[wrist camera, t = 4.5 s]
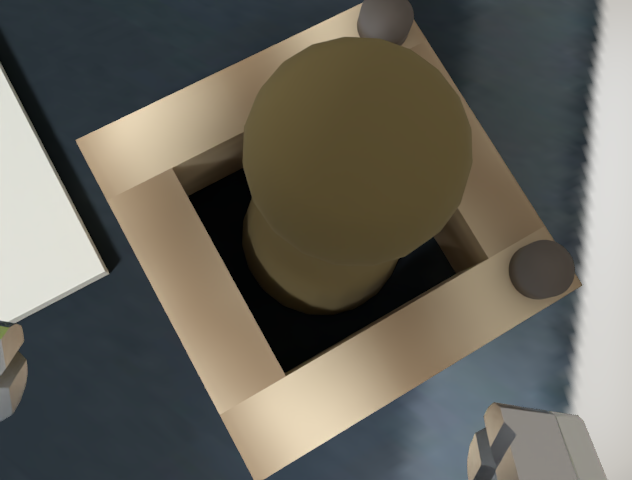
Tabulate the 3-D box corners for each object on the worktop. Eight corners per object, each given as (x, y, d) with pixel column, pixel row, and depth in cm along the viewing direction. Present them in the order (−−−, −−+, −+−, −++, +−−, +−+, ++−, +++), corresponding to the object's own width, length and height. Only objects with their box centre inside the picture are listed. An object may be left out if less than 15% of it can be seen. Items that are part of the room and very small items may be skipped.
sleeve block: (258, 464, 21) (255, 489, 17) (104, 173, 23) (67, 130, 19) (536, 296, 23) (595, 282, 19) (376, 39, 25) (398, -27, 20)
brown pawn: (386, 151, 24) (484, -23, 13) (412, 304, 23) (542, 251, 12) (232, 168, 23) (202, 1, 12) (251, 326, 22) (235, 292, 11)
